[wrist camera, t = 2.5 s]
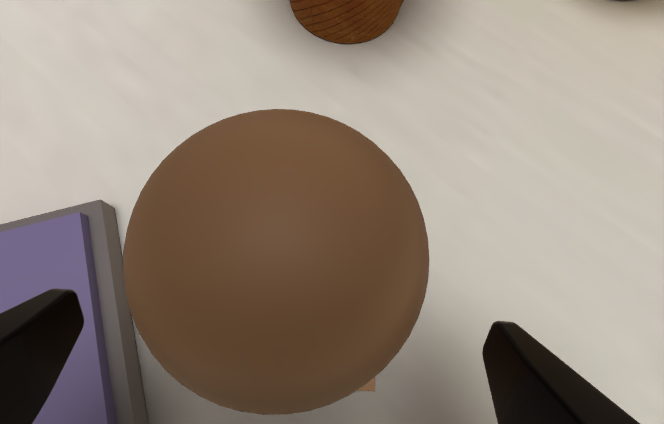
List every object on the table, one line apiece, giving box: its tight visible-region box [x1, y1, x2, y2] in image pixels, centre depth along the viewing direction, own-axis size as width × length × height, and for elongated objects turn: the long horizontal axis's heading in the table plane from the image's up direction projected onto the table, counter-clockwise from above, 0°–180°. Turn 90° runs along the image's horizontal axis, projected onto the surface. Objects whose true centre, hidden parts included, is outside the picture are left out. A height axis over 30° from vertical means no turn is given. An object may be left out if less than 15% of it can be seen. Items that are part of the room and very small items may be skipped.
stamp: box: [123, 109, 429, 415], centre depth 10 cm, size 6×6×14 cm
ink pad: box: [0, 200, 148, 424], centre depth 15 cm, size 10×8×2 cm
